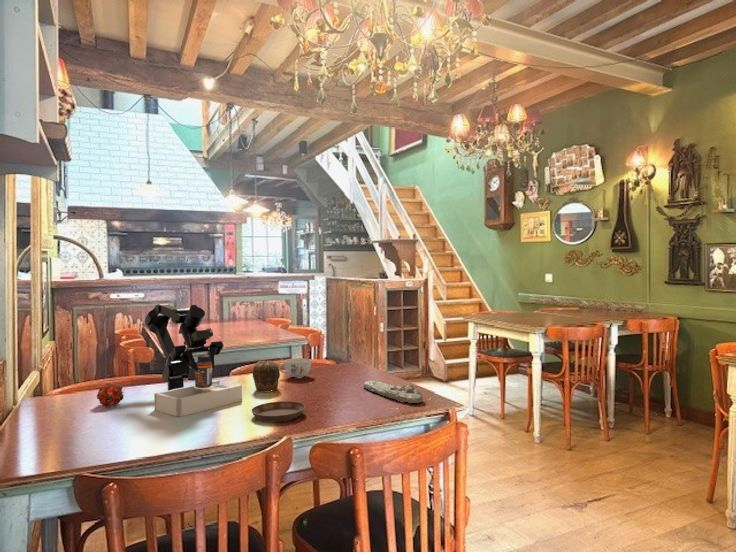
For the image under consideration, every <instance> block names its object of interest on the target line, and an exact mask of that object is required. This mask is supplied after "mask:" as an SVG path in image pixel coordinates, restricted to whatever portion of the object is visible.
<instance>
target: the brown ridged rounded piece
mask: <svg viewBox="0 0 736 552" xmlns="http://www.w3.org/2000/svg"><path fill="white" fill-rule="evenodd" d="M280 376H281V372H280V370H279V365H278V364H277V363H276V362H274V361H272V360H267V361H266V360H259V361H257V362H256V363H255V364H254V366H253V369H252V378H253V382H254V386H255V390H256V391H258V392H260V391H271V390H275V391H277V390H276V389H278V387H279V386H278V385H279V379H280V378H281V377H280ZM271 392H272V391H271Z"/></svg>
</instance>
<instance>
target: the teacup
mask: <svg viewBox="0 0 736 552" xmlns="http://www.w3.org/2000/svg"><path fill="white" fill-rule="evenodd" d="M312 361H313V360H312V359H310V358H304V357H296V358H289V359H285V360H284V361H283V362H284V363H283V362H282V363H280V364H279V365H278V368H279V372H280V373H282V374H287V375H289V376H290V377H291V378H292V377H303V376H305V375H306V376H307V375H308V373H309V372H310V370H311V367H312ZM282 367H284V369H285V370H286V371H285V370H283V369H281V368H282ZM306 376H305V377H306Z"/></svg>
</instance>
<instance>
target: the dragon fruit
mask: <svg viewBox="0 0 736 552" xmlns="http://www.w3.org/2000/svg"><path fill="white" fill-rule="evenodd" d="M122 390H123V386H121V385H118V384H117V383H109V382H108V383H106V384H105V385H104V386H102V387H100V388H99V389H98V392H97V394H96V399H97V400H98V401H99V403H100V405H102V406H103V408H109V407H108V406H110V407H111V406H113V405H114V404H117V405H119V403H120V402H121V401H123V400H124V397H125V394H124V392H123V391H122ZM114 406H115V405H114Z"/></svg>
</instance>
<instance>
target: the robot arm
mask: <svg viewBox="0 0 736 552" xmlns="http://www.w3.org/2000/svg"><path fill="white" fill-rule="evenodd" d="M205 316H206V312H205V310H204V309H202V308H201V307H199V306H198V305H197V304H191V305H190V307H187V308H186V307H185V308H180V307H176V306H173V305H171V304H170V303H157V304H156V305H155V307H154V308H153V309H151V310H150V311H149V312H148V313H147V315H146V316H145V319H144V324H145V326H146V327H147V328H148V331H150V332H151V333H153V334H155V336H156V338H157V340H158V344H159V346H160V348H161V350H162V353H163V355H164V357H165V359H166V361H165V365H164V369H163V372H162V373H161V378H162V380H163V381H164V382H167V391H169V390H173V389H178V388H183V387H185V386H184V385H185V384H184V379H189V375H190V368H191V369H192V370H194V372H195V371H197V370H198V367H197V364H196V362H197V361H196V360H195V358H194V354H200V353H206V354H205V355H209V360H210V361H211V362H212V369H214V368H215V356H218V355H219V354H220V353H221V352H222V349H223V348H224V343H223V341H222V340H216V341H215V340H213V341H211V342H210V344H209V345H206V344H207V340H209V339H210V338H212V337H213V336H214V332H213V329H212V328H210V327H209V328H206V329H201V330H199V329H198V327H199V326H201V324H202V321H203V319H204V317H205ZM170 319H171V322H172V323H174V324H175V325H179V324H180V325H179V329H178V334H179V335H181V336H182V338H183V340H184V341H183V344H181V345H175V344H174V341H173V339H172V336H171V333H170V332H169V330H168V325H169V321H170Z"/></svg>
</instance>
